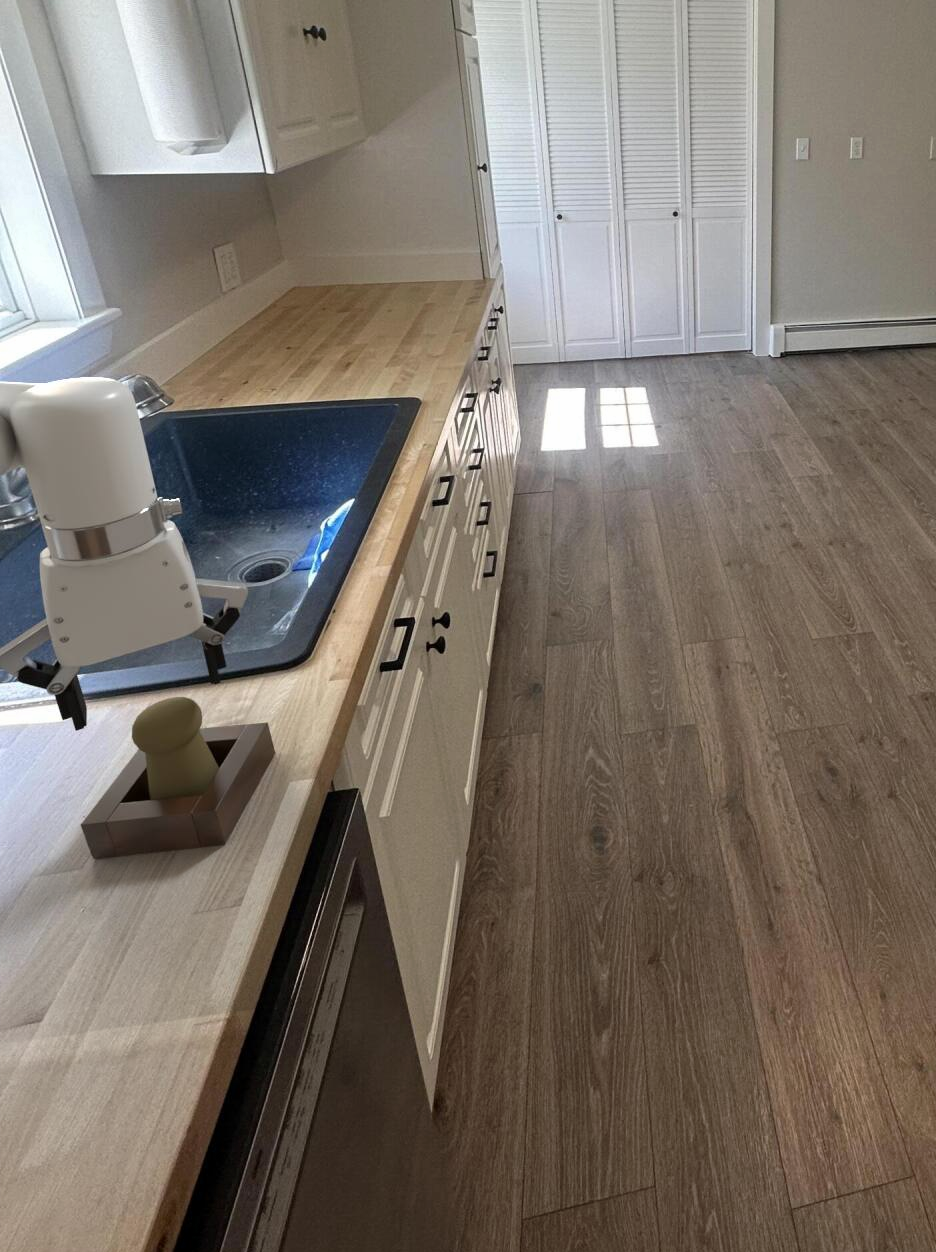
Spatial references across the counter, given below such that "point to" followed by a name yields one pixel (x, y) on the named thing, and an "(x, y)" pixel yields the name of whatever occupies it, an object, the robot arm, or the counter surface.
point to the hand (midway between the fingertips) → (150, 697)
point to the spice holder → (181, 799)
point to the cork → (174, 749)
